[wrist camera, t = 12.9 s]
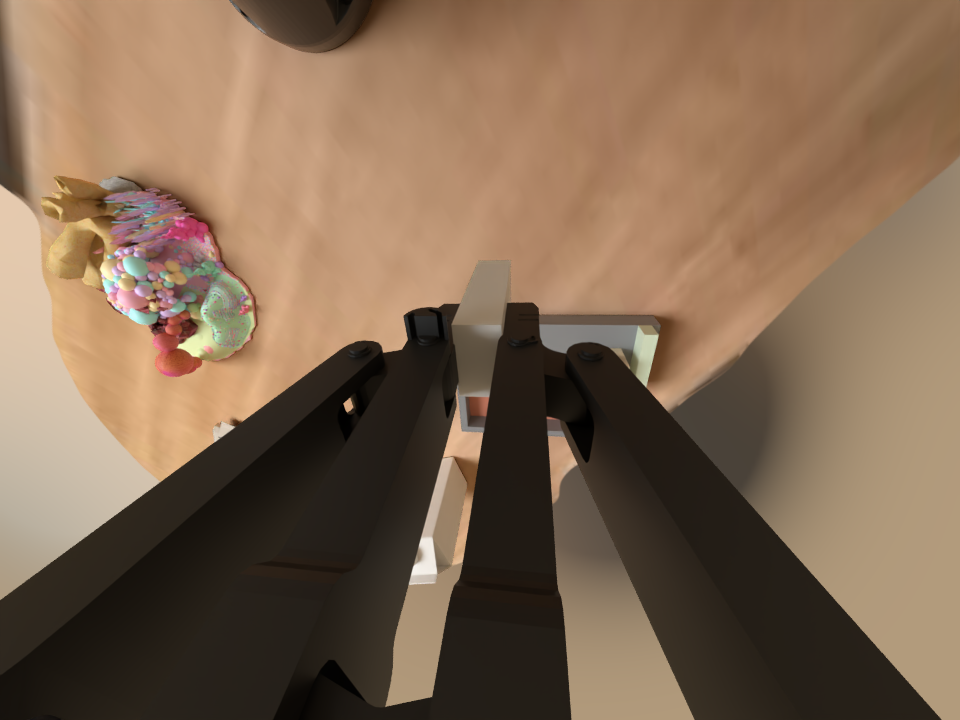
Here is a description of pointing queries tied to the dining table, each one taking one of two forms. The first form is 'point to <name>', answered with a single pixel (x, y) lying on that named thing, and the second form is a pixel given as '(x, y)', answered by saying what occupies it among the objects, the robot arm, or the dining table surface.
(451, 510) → the milk carton
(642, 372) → the grey compartment tray
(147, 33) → the dining table surface
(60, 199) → the pastel sphere sculpture
